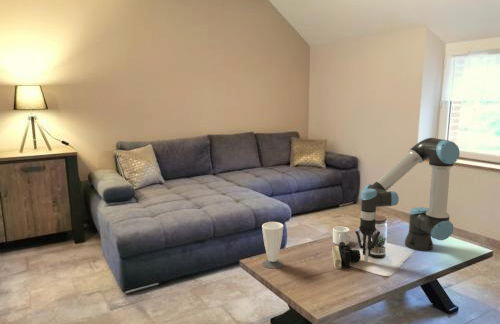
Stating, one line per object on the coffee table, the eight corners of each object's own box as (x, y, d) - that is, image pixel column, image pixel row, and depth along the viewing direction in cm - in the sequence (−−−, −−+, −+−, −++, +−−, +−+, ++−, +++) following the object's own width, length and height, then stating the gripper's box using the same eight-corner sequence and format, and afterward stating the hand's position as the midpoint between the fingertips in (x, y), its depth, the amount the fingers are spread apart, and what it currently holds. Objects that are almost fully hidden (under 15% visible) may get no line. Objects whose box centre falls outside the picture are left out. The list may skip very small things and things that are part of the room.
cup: (287, 263, 200) (288, 224, 196) (274, 270, 191) (274, 230, 187) (271, 257, 207) (271, 220, 203) (257, 264, 199) (257, 225, 195)
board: (337, 254, 210) (337, 245, 209) (341, 268, 193) (341, 259, 192) (332, 253, 211) (332, 245, 210) (335, 268, 193) (335, 259, 192)
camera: (362, 268, 193) (363, 250, 191) (342, 268, 193) (342, 250, 191) (356, 257, 206) (357, 240, 204) (337, 257, 207) (337, 240, 205)
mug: (348, 249, 217) (349, 234, 215) (331, 246, 221) (331, 232, 219) (350, 241, 228) (351, 227, 226) (333, 239, 232) (334, 225, 230)
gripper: (379, 216, 198) (377, 257, 202) (354, 215, 200) (352, 256, 204) (382, 221, 191) (380, 264, 195) (356, 220, 192) (354, 262, 197)
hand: (366, 260), depth 199 cm, fingers closed
